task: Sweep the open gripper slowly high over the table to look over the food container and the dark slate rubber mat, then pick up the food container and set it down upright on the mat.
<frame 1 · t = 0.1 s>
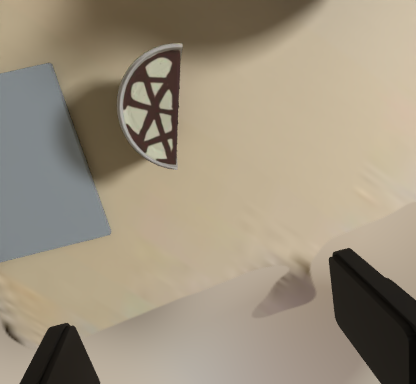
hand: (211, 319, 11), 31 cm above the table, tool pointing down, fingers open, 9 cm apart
slate mat: (21, 170, 39), on the table
food container: (152, 105, 38), on the table
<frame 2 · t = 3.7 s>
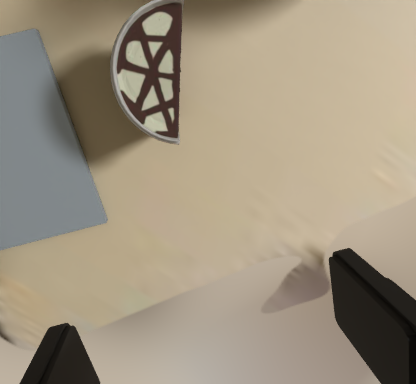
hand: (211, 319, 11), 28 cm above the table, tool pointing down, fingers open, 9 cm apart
slate mat: (7, 151, 35), on the table
food container: (151, 78, 35), on the table
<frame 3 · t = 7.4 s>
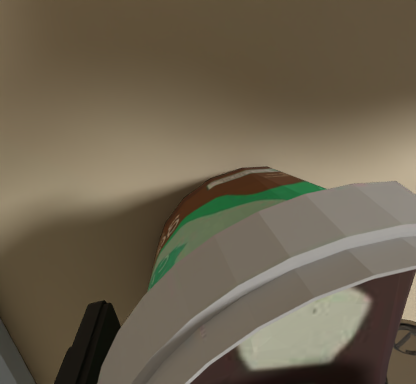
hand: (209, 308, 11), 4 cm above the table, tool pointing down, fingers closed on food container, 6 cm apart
food container: (195, 255, 15), on the table, touching gripper
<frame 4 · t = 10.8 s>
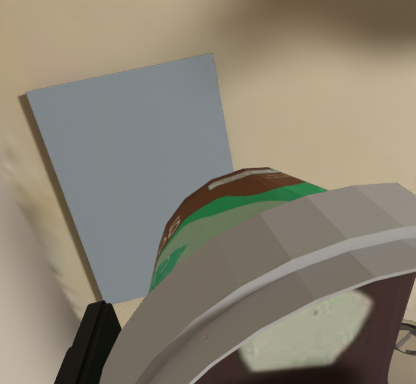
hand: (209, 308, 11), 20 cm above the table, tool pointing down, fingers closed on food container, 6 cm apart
slate mat: (153, 189, 30), on the table
food container: (196, 256, 15), point 16 cm above the table, touching gripper
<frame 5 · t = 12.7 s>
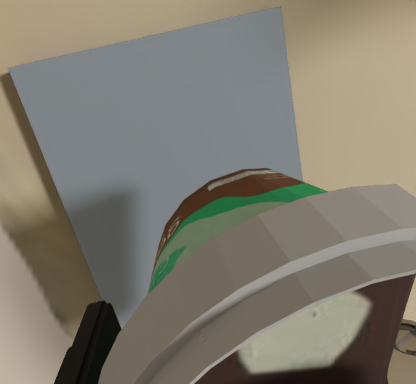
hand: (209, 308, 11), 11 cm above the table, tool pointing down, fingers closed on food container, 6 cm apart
slate mat: (190, 204, 22), on the table
food container: (195, 256, 15), point 7 cm above the table, touching gripper
when the fingers open (6 cm above the table, at t = 14.2 s): food container drops 1 cm, resting on slate mat.
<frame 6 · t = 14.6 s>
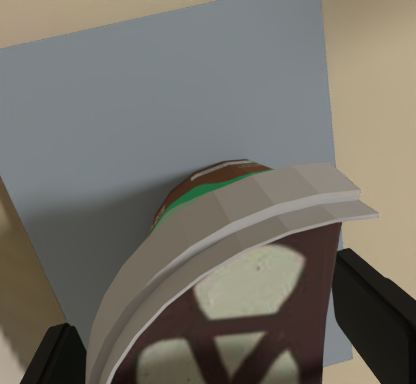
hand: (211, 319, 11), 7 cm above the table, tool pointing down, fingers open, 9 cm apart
slate mat: (196, 236, 17), on the table
food container: (184, 243, 17), point 1 cm above the table, touching slate mat
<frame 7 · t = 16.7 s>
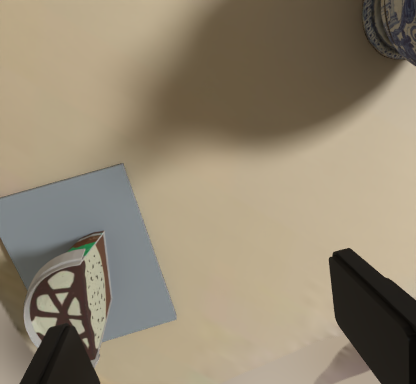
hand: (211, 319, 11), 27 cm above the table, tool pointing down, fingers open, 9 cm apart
slate mat: (90, 262, 39), on the table
food container: (83, 266, 38), point 1 cm above the table, touching slate mat
decorative vase: (403, 11, 35), on the table
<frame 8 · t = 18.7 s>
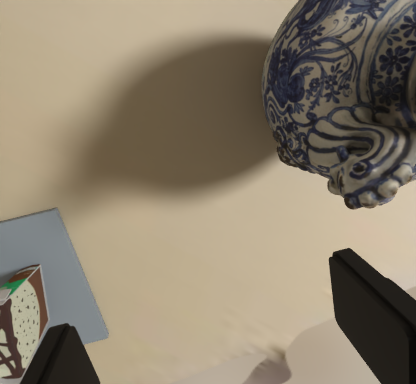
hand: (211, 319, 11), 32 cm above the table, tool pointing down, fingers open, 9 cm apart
slate mat: (30, 289, 45), on the table
food container: (23, 293, 44), point 1 cm above the table, touching slate mat
decorative vase: (302, 86, 41), on the table
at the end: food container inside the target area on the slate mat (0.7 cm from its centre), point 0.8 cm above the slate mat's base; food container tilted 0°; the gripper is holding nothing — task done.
